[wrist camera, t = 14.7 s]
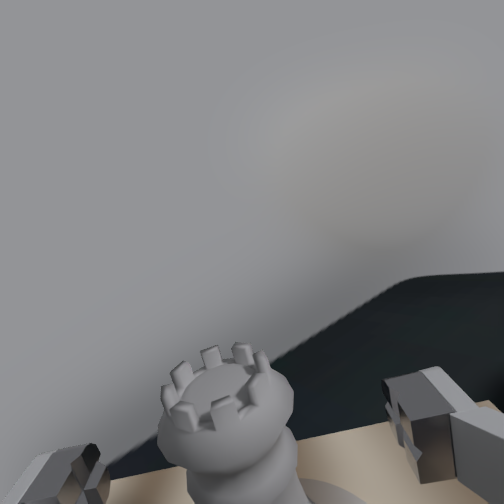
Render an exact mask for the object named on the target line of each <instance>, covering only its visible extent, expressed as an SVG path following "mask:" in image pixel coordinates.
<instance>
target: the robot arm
mask: <svg viewBox="0 0 504 504" xmlns="http://www.w3.org/2000/svg"><path fill="white" fill-rule="evenodd" d="M381 385H382V392H383V394H384V396H385V398H386V399H387V401H388V402H387V404H386V406H385V408H386V413H387V418H388V421H389V424H390V427H391V430H392V432H393V435H394V437H395V439H396V441H397V443H398V444H399V445H400V446H401V447H403V448H405V452H406V458H407V461H408V463H409V465H410V467H411V468H412V470H413V472H414V474H415V476H416V478H417V479H418V481H419V483H420V485H421V484H427V483H433V482H439V481H445V480H451V479H457V480H458V481H459V482H460V483H462V484H463V485H465V486H466V487H467V488H469V489H470V490H471V491H473V492H474V493H476V494H477V495H478V496H480V497H481V498H483V499H484V500H485V501H487V502H488V503H489V504H504V414H503V413H501V412H498V411H496V410H493V409H491V408H488V407H486V406H485V407H480V408H479V407H478V406H477V405H476V404H475V403H474V402H473V401H472V399H471V398H470V397H469V396H468V395H467V394H466V393H465V392H464V391H463V390H462V389H461V388H460V387H459V386H458V385H457V384H456V383H455V382H454V381H453V380H452V379H451V378H450V377H449V376H448V375H447V374H446V373H445V372H444V371H443V370H442V369H441V368H440V367H437V366H436V367H432V368H428V369H424V370H420V371H418V372H414V373H409V374H405V375H400V376H396V377H391V378H387V379H382V380H381ZM99 457H100V451H99V449H98V448H97V446H96V444H92V443H89V444H84V445H78V446H73V447H68V448H63V449H58V450H54V451H49V452H44V453H41V454H39V455H38V456H36V457H35V458H34V459H33V461H32V462H31V463H30V465H29V466H28V468H27V469H26V470H25V472H24V473H23V474H22V475H21V477H20V478H19V480H18V481H17V482H16V484H15V485H14V486H13V488H12V489H11V490H10V492H9V493H8V494H7V496H6V497H5V498H4V500H3V501H2V502H1V504H106V502H107V499H108V497H109V492H110V484H111V481H110V475H109V472H108V469H107V467H106V466H105V465H103V464H102V463H100V462H99V461H98V460H99Z"/></svg>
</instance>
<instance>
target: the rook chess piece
mask: <svg viewBox="0 0 504 504" xmlns="http://www.w3.org/2000/svg"><path fill="white" fill-rule="evenodd" d="M231 350H232V353H233V356H234V358H230V359H223V360H222V357H221V353H220V350H219V347H218V345H215V346H213V347H210V348H207V349H204V350H201V351H200V353H201V356H202V359H203V362H204V365H205V366H204V367H202V368H200V369H199V370H197V371H195V372H194V373H193V371H192V369H191V366H190V363H188V362H186V361H182V362H181V363H180V364H179V365H178V366H176V367H175V368H174V369H173V370H172V371H171V372H170V375H171V378H172V381H173V383H172V384H168V385H163V386H161V402H162V404H163V407H164V412H163V415H162V417H161V419H160V422H159V425H158V440H157V445H158V447H159V448H160V450H161V451H162V453H163V454H164V456H165V458H166V459H167V461H168V462H170V463H173V464H175V465H178V466H180V467H183V468H185V469H187V471H186V479H187V492H188V494H189V495H190V497H191V498H192V500H193V501H194V503H195V504H316V503H314V502H313V501H312V500H311V499H310V498H309V497H308V496H307V495H306V494H305V492H304V490H303V488H302V485H301V483H300V481H299V479H298V476H297V473H296V466H297V452H298V445H297V443H296V441H295V438H294V436H293V434H292V432H291V430H290V429H289V428H288V427H286V426H285V424H286V423H287V421H288V419H289V417H290V416H291V414H292V412H293V394H294V391H293V390H292V388H291V386H290V385H289V383H288V381H287V379H286V378H285V376H283V375H281V374H280V373H278V372H276V371H275V370H273V369H272V368H270V364H269V361H268V358H267V357H266V355H265V353H264V351H263V350H261V351H259V352H257V353H253V350H252V345H251V344H249V343H239V342H235V344H234V345H233V347H232V348H231Z"/></svg>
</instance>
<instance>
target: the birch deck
mask: <svg viewBox="0 0 504 504" xmlns="http://www.w3.org/2000/svg"><path fill="white" fill-rule="evenodd" d="M475 404H476V405H477V406H478V407H479V408H480V407H485V406H486V407H488V408H491V409H493V410H496V411H498V412H501V411H499V410H498V409H497V408H496V407H495V406H494V405H493V404H492V403H491V402H490V401H489V400H487V401H482V402H478V403H475ZM501 413H502V412H501ZM296 443H297V445H298V452H297V466H296V473H297V476H298V479H299V481H300V483H301V485H302V488H303V490H304V492H305V494H306V495H307V496H308V497H309V498H310V499H311V500H312V501H313V502H314V503H316V504H489V503H488V502H487V501H485V500H484V499H483V498H481V497H480V496H478V495H477V494H476V493H474V492H473V491H471V490H470V489H469V488H467V487H466V486H465V485H463V484H462V483H460V482H459V481H458V480H457V479H451V480H445V481H439V482H433V483H427V484H421V485H420V483H419V481H418V479H417V478H416V476H415V474H414V472H413V470H412V468H411V467H410V465H409V463H408V461H407V458H406V452H405V448H403V447H401V446H400V445H399V444H398V443H397V441H396V439H395V437H394V435H393V432H392V430H391V427H390V424H389V422H384V423H379V424H375V425H370V426H365V427H361V428H356V429H351V430H346V431H342V432H337V433H332V434H328V435H323V436H318V437H314V438H309V439H304V440H300V441H296ZM186 471H187V469H185V468H183V467H180V466H178V467H173V468H168V469H164V470H159V471H154V472H150V473H145V474H140V475H136V476H131V477H126V478H122V479H117V480H112V481H111V484H110V492H109V497H108V499H107V502H106V504H195V503H194V501H193V500H192V498H191V497H190V495H189V494H188V492H187V479H186Z"/></svg>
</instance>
